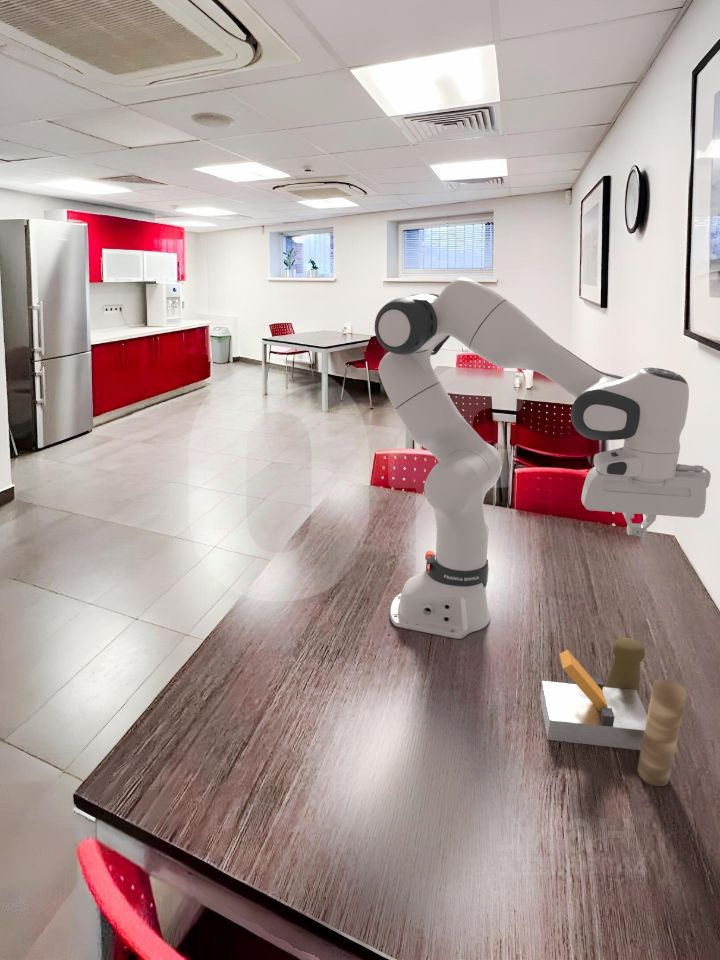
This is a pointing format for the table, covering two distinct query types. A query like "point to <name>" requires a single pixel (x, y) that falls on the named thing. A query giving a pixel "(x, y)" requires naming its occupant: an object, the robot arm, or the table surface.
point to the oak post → (661, 731)
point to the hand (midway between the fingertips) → (635, 534)
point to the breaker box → (593, 716)
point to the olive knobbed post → (626, 665)
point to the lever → (583, 680)
